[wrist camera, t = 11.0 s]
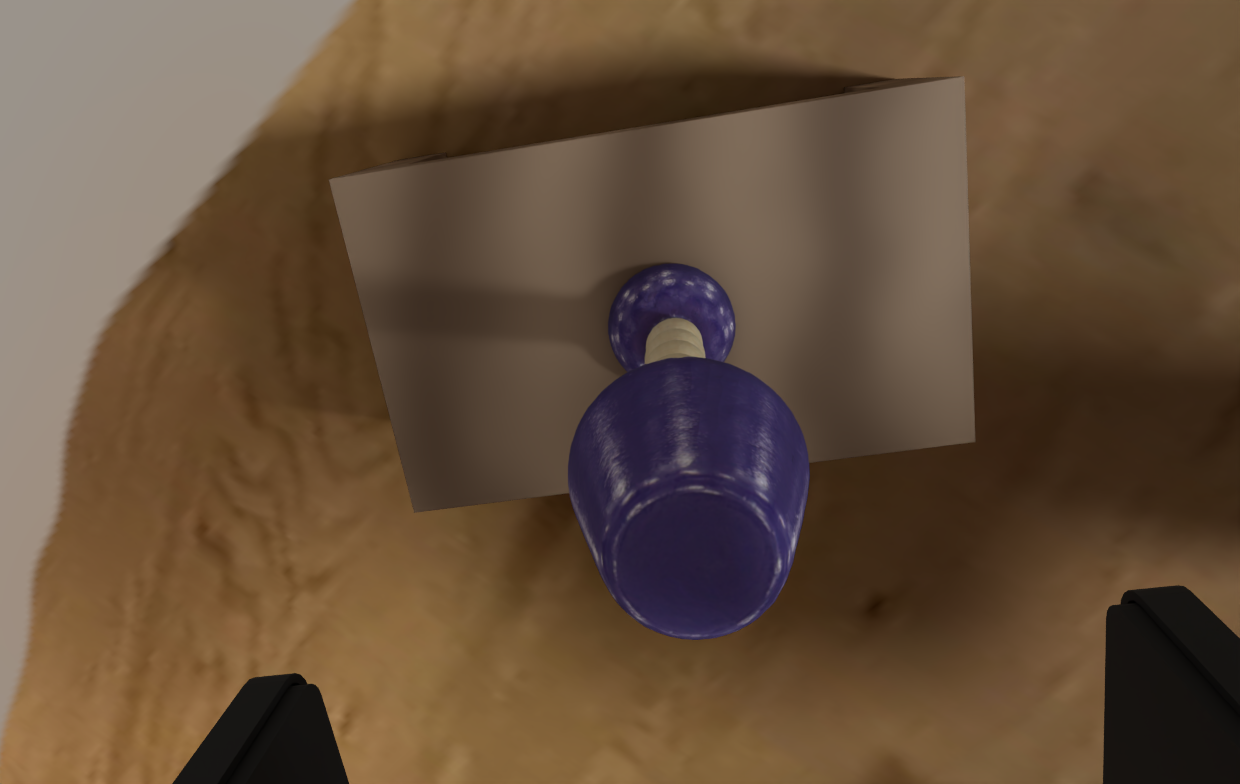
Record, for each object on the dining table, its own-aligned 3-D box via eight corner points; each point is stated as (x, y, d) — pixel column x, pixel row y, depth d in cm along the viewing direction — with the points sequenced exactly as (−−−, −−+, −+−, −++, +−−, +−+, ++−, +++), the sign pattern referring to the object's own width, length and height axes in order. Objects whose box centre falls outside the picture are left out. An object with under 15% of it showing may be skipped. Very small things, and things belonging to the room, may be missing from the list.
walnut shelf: (896, 78, 34) (964, 76, 27) (912, 371, 38) (975, 441, 30) (398, 160, 36) (328, 179, 28) (460, 431, 40) (414, 512, 32)
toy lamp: (588, 265, 29) (504, 474, 13) (727, 227, 28) (814, 398, 13) (627, 398, 30) (593, 731, 15) (760, 365, 30) (875, 675, 14)
